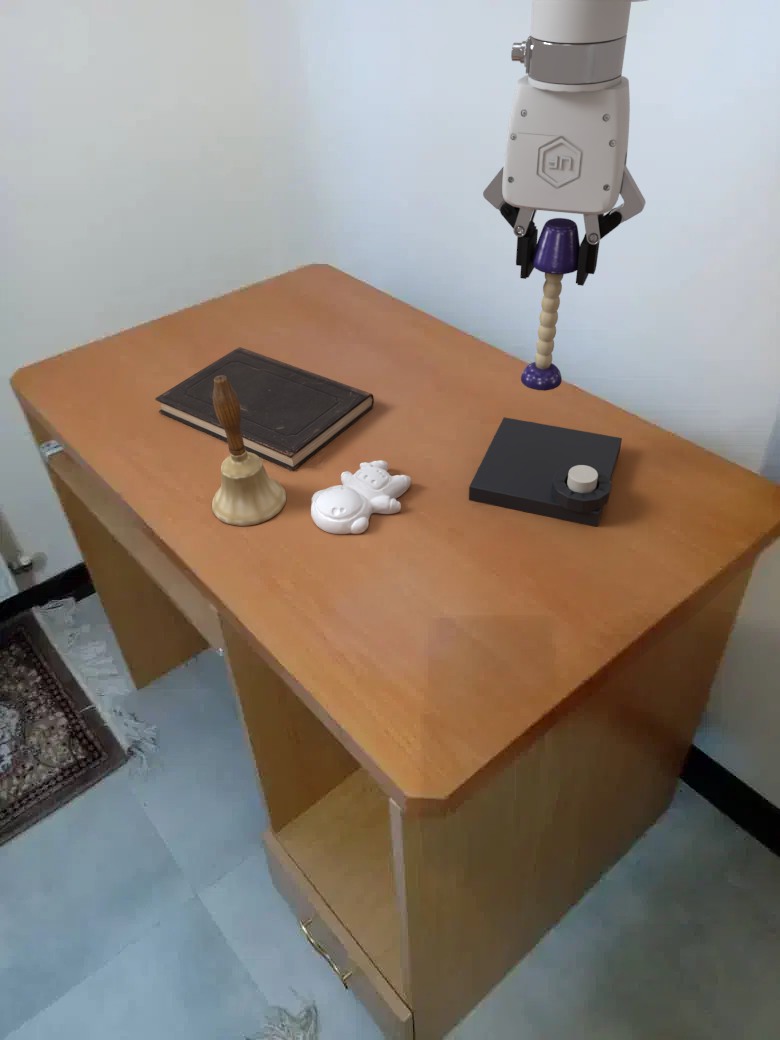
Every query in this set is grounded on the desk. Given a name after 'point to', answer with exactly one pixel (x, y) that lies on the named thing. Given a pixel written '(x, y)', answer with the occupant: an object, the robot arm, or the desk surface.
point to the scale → (545, 470)
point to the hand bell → (241, 470)
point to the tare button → (582, 479)
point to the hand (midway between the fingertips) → (554, 274)
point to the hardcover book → (270, 406)
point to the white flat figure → (358, 499)
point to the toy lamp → (551, 296)
